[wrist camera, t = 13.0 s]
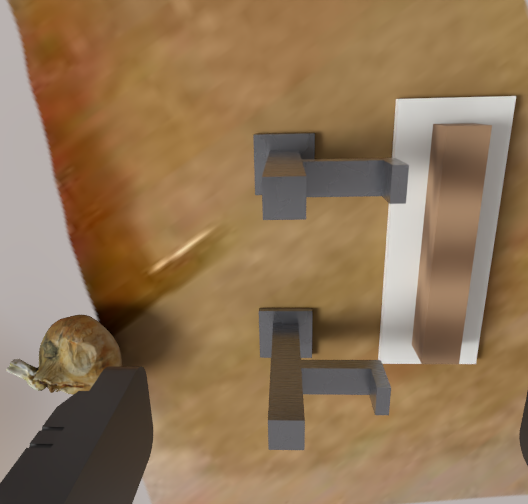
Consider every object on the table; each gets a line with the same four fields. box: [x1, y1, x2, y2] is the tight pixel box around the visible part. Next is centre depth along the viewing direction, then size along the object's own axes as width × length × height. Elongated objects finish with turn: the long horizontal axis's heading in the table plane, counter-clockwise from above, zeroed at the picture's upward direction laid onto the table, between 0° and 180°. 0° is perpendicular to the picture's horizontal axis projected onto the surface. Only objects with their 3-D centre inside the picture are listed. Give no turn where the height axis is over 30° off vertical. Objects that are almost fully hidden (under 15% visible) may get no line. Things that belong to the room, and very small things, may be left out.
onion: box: [6, 315, 122, 395], centre depth 40 cm, size 8×8×8 cm
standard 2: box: [254, 133, 409, 220], centre depth 31 cm, size 5×10×14 cm, turn 91°
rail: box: [412, 123, 492, 364], centre depth 37 cm, size 20×3×3 cm, turn 1°
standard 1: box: [259, 308, 391, 450], centre depth 36 cm, size 5×10×14 cm, turn 91°
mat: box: [378, 96, 516, 364], centre depth 39 cm, size 24×9×1 cm, turn 1°
